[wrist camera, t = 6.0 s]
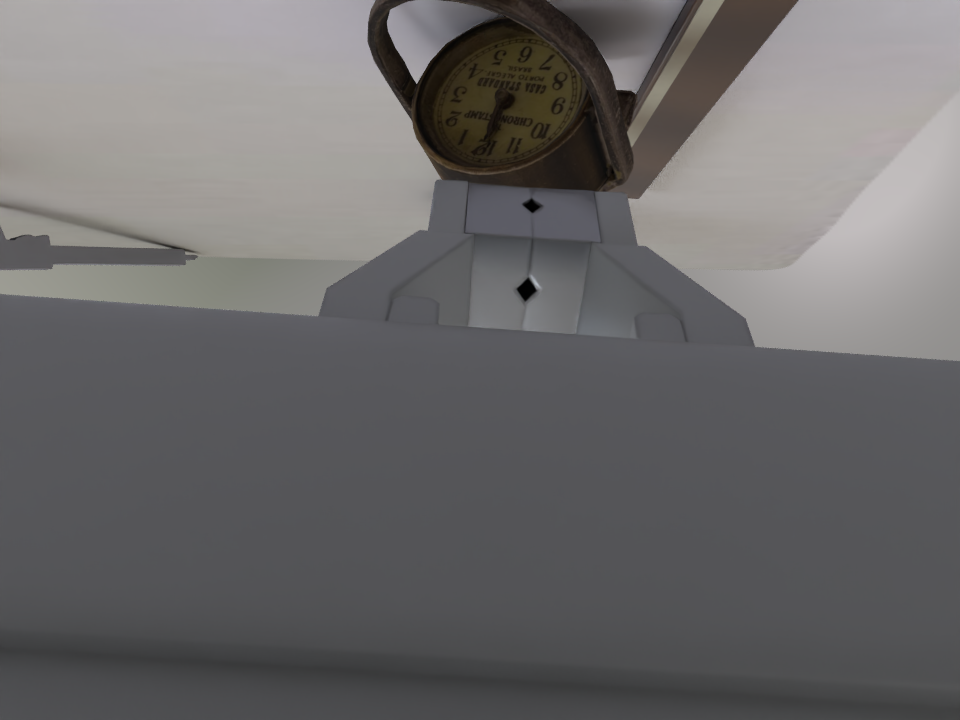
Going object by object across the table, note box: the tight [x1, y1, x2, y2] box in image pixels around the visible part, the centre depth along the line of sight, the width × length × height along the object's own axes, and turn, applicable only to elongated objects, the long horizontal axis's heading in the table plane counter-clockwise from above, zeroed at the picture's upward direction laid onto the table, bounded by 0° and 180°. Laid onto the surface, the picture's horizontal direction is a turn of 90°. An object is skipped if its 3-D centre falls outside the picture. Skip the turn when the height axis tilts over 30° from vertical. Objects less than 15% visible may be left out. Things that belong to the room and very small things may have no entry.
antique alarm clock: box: [368, 0, 638, 192], centre depth 27 cm, size 7×13×10 cm
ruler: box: [607, 0, 798, 199], centre depth 36 cm, size 24×3×1 cm, turn 178°
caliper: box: [0, 227, 198, 270], centre depth 68 cm, size 20×1×6 cm, turn 35°
